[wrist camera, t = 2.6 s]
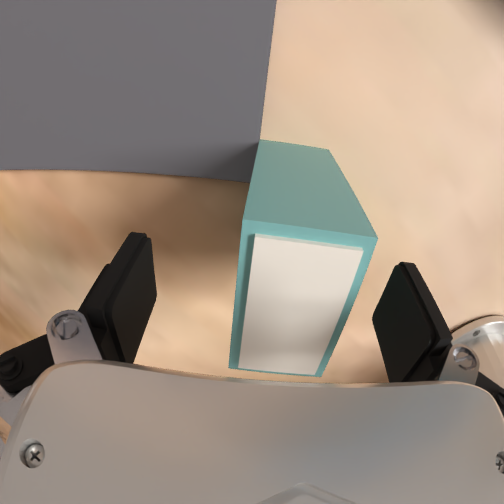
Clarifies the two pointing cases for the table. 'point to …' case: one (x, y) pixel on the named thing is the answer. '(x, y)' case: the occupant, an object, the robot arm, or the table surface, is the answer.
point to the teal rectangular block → (297, 261)
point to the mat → (134, 85)
